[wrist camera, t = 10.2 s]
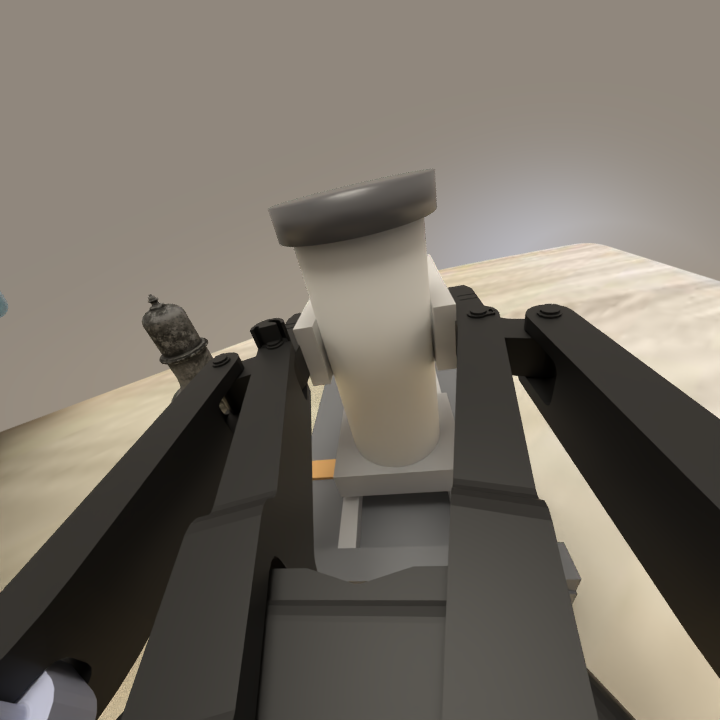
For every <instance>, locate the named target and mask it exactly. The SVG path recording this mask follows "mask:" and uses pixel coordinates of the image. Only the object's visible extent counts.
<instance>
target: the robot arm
mask: <svg viewBox="0 0 720 720" xmlns="http://www.w3.org/2000/svg"><path fill="white" fill-rule="evenodd" d="M427 264H428V277H429V291H430V305H431V318H432V332H433V345H434V359H435V363H436V366H437V370H438V371H440V370H448V369H456V368H457V373H456V403H455V432H454V462H453V486H452V488H451V502H450V526H449V552H448V566H413V567H410V568H407V569H404V570H401V571H398V572H395V573H392V574H389V575H385V576H382V577H379V578H376V579H373V580H370V581H367V582H364V583H360V584H354V583H350V582H347V581H344V580H341V579H338V578H335V577H332V576H329V575H326V574H323V573H320V572H318V571H317V567H316V563H315V557H314V527H313V480H312V434H311V391H310V389H309V386H308V383H307V382H308V379H309V376H310V378H311V380H312V383H313V386H317V385H325V384H331V381H332V376H333V371H332V368H331V365H330V362H329V359H328V355H327V352H326V349H325V346H324V343H323V339H322V336H321V333H320V330H319V327H318V323H317V320H316V317H315V314H314V311H313V307H312V304H311V301H310V299H309V300H308V302H307V304H306V306H305V308H304V310H303V312H302V313H298V314H294V315H293V316H292V317H291V318H289V319H288V321H287V322H286V324H285V323H284V320H283V319H280V318H273V319H268V320H265V321H262V322H260V323H258V324H256V325H255V326H254V327H252V328H251V330H250V332H251V334H252V336H253V338H254V341H255V343H256V345H257V347H258V352H257V355H256V357H253V358H250V359H247V360H244V361H241V359H240V358H239V356H238V354H237V353H225V354H224V353H223V354H220V355H218V356H216V357H215V358H213V359H212V360H210V361H209V362H208V363H207V364H206V365H205V366H204V367H203V368H202V369H201V370H200V371H199V373H198V374H197V375H196V376H195V377H194V378H193V379H192V380H191V381H190V383H189V384H188V385H187V386H186V387H185V388H184V389H183V390H182V391H181V393H180V394H179V395H178V396H177V397H176V398H175V399H174V400H173V401H172V403H171V404H170V405H169V406H168V407H167V408H166V409H165V410H164V411H163V413H162V414H161V415H160V416H159V417H158V418H157V419H156V420H155V421H154V423H153V424H152V425H151V426H150V427H149V428H148V429H147V430H146V431H145V433H144V434H143V435H142V436H141V437H140V438H139V439H138V440H137V441H136V443H135V444H134V445H133V446H132V447H131V448H130V449H129V450H128V451H127V453H126V454H125V455H124V456H123V457H122V458H121V459H120V460H119V461H118V463H117V464H116V465H115V466H114V467H113V468H112V469H111V470H110V472H109V473H108V474H107V475H106V476H105V477H104V478H103V479H102V480H101V482H100V483H99V484H98V485H97V486H96V487H95V488H94V489H93V490H92V492H91V493H90V494H89V495H88V496H87V497H86V498H85V499H84V500H83V502H82V503H81V504H80V505H79V506H78V507H77V508H76V509H75V510H74V512H73V513H72V514H71V515H70V516H69V517H68V518H67V519H66V520H65V522H64V523H63V524H62V525H61V526H60V527H59V528H58V529H57V530H56V532H55V533H54V534H53V535H52V536H51V537H50V538H49V539H48V540H47V542H46V543H45V544H44V545H43V546H42V547H41V548H40V549H39V550H38V552H37V553H36V554H35V555H34V556H33V557H32V558H31V559H30V560H29V562H28V563H27V564H26V565H25V566H24V567H23V568H22V569H21V570H20V572H19V573H18V574H17V575H16V576H15V577H14V578H13V579H12V580H11V582H10V583H9V584H8V585H7V586H6V587H5V588H4V589H3V590H2V592H1V593H0V720H98V718H99V717H100V715H101V714H102V712H103V711H104V709H105V708H106V707H107V705H108V704H109V702H110V701H111V699H112V698H113V696H114V695H115V693H116V692H117V691H118V689H119V687H120V686H121V684H122V682H123V681H124V679H125V678H126V676H127V674H128V673H129V671H130V669H131V668H132V666H133V665H134V663H135V661H136V660H137V658H138V656H139V655H140V653H141V651H142V649H143V647H144V646H145V644H146V642H147V640H148V638H149V640H148V642H147V645H146V648H145V651H144V654H143V657H142V660H141V663H140V666H139V669H138V672H137V674H136V677H135V680H134V683H133V686H132V689H131V692H130V695H129V698H128V701H127V703H126V706H125V709H124V711H123V713H122V714H121V715H120V716H119V717H118V718H117V719H116V720H636V719H635V718H634V717H633V716H632V715H631V714H630V713H629V712H628V711H627V710H626V709H625V708H624V707H623V706H622V705H621V703H620V702H619V701H618V700H617V699H616V698H615V697H614V696H613V695H612V694H611V693H610V692H609V691H608V690H607V689H606V688H605V687H604V686H603V684H602V683H601V682H600V681H599V680H598V679H597V678H596V677H595V676H594V675H593V674H592V673H591V672H590V671H589V670H588V669H587V668H586V664H585V660H584V655H583V651H582V647H581V643H580V638H579V634H578V630H577V625H576V621H575V617H574V613H573V608H572V604H571V600H570V595H569V591H568V587H567V583H566V578H565V574H564V570H563V565H562V561H561V557H560V552H559V548H558V544H557V540H556V535H555V531H554V527H553V522H552V519H551V515H550V512H549V509H548V506H547V504H546V503H545V501H544V500H541V499H539V498H538V496H537V492H536V489H535V484H534V479H533V474H532V469H531V464H530V460H529V455H528V450H527V445H526V440H525V435H524V430H523V426H522V421H521V416H520V411H519V406H518V401H517V397H516V392H515V387H514V382H513V377H512V375H514V376H518V378H519V381H520V382H521V384H522V385H523V387H524V388H525V390H526V391H527V393H528V394H529V396H530V397H531V399H532V400H533V402H534V403H535V405H536V406H537V408H538V410H539V411H540V413H541V414H542V416H543V417H544V419H545V420H546V422H547V423H548V425H549V426H550V428H551V429H552V431H553V432H554V434H555V435H556V437H557V438H558V440H559V441H560V443H561V444H562V446H563V447H564V449H565V450H566V452H567V453H568V455H569V456H570V458H571V459H572V461H573V462H574V464H575V465H576V467H577V468H578V470H579V471H580V473H581V474H582V476H583V477H584V479H585V480H586V482H587V483H588V485H589V486H590V488H591V489H592V491H593V492H594V494H595V495H596V497H597V498H598V500H599V501H600V503H601V504H602V506H603V507H604V509H605V510H606V512H607V513H608V515H609V516H610V518H611V519H612V521H613V522H614V524H615V525H616V527H617V528H618V530H619V531H620V533H621V534H622V536H623V537H624V539H625V540H626V542H627V543H628V545H629V546H630V548H631V549H632V551H633V552H634V554H635V555H636V557H637V558H638V560H639V561H640V563H641V564H642V566H643V567H644V569H645V570H646V572H647V573H648V575H649V576H650V578H651V579H652V581H653V582H654V584H655V585H656V587H657V588H658V590H659V591H660V593H661V594H662V596H663V597H664V599H665V600H666V602H667V603H668V605H669V607H670V608H671V610H672V611H673V613H674V614H675V616H676V617H677V619H678V620H679V622H680V623H681V625H682V626H683V628H684V629H685V631H686V632H687V634H688V635H689V636H690V638H691V639H692V641H693V642H694V643H695V645H696V646H697V648H698V649H699V650H700V652H701V653H702V655H703V656H704V657H705V659H706V660H707V662H708V663H709V664H710V666H711V667H712V669H713V670H714V671H715V673H716V674H717V675H718V677H719V678H720V419H719V418H718V417H716V416H715V415H713V414H712V413H711V412H709V411H708V410H707V409H705V408H704V407H703V406H701V405H700V404H699V403H697V402H696V401H695V400H693V399H692V398H690V397H689V396H688V395H686V394H685V393H684V392H682V391H681V390H680V389H678V388H677V387H676V386H674V385H673V384H672V383H670V382H669V381H667V380H666V379H665V378H663V377H662V376H661V375H659V374H658V373H657V372H655V371H654V370H653V369H651V368H650V367H649V366H647V365H646V364H644V363H643V362H642V361H640V360H639V359H638V358H636V357H635V356H634V355H632V354H631V353H630V352H628V351H627V350H626V349H624V348H623V347H621V346H620V345H619V344H617V343H616V342H615V341H613V340H612V339H611V338H609V337H608V336H607V335H605V334H604V333H603V332H601V331H600V330H598V329H597V328H596V327H594V326H593V325H592V324H590V323H589V322H588V321H586V320H585V319H584V318H582V317H581V316H580V315H578V314H577V313H575V312H574V311H573V310H571V309H569V308H567V307H564V306H560V305H557V304H553V305H551V304H545V305H538V306H534V307H531V308H530V309H528V310H527V311H526V314H525V319H506V318H500V314H499V312H498V310H497V309H495V308H493V307H488V306H484V305H483V304H482V302H481V301H480V299H479V298H478V297H477V295H476V294H475V292H474V291H473V290H472V288H470V287H467V286H465V285H461V286H455V287H449V288H447V286H446V284H445V282H444V280H443V279H442V277H441V275H440V273H439V271H438V269H437V267H436V265H435V264H434V261H433V260H432V258H431V256H430V255H427ZM7 310H8V304H7V301H6V299H5V298H4V296H3V295H2V293H1V292H0V318H1V317H3V316H4V315H5V314H6V312H7ZM221 400H223V402H224V404H225V405H226V407H227V411H226V412H225V413H223V412H222V411H221V409H220V408H219V405H220V402H221ZM149 636H150V637H149Z"/></svg>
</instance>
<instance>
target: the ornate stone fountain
mask: <svg viewBox="0 0 720 720" xmlns="http://www.w3.org/2000/svg"><path fill="white" fill-rule="evenodd" d="M148 299H149V301H148V302H149V303H151V304H152V307H150V310H149V311H148V312H146V313H145V315H144V316H143V319H142V324H143V327H144V328H145V330H146V331H147V333H148V334H149V336H150V337H151V339H152V340H153V342H154V343H155V344H156V346H157V348H158V349H159V350H160V352H161V354H162V355H161V357H160V362H161V363H162V364H168V366H169V367H170V369H171V370H172V372H173V373H174V375H175V376H176V377H177V379H178V381H179V384H180V387H181V388H180V389H179V390H178V391H177V392H176V393H175V395H174V397H173V399H172V401H173V400H174V399H175V398H176V397H177V396H178V395H179V394H180V393H181V391H182V390H183V389H184V388H185V387H186V386H187V385H188V384H189V383H190V381H191V380H192V379H193V378H194V377H195V376H196V375H197V374H198V373H199V371H200V370H201V369H202V368H203V367H204V366H205V365H206V364H207V363H208V362H209V361H210V360H212V359H213V357H212V356H211V354H210V352H209V350H208V349H207V347H206V346H207V344H208V340H207V339H205V338H200V337H199V335H198V333H197V331H196V330H195V329H194V326H193V325H192V323H191V321H190V320H189V318H188V316H187V314H186V312H185V311H184V309H182V307H179V306H178V305H175V304H163V303H159V302H158V298H156V297H155V296H152V295H151V294H150V295H149V297H148ZM219 408H220V409H221V411H222V412H223V413H225V412H226V411H227V407H226V405H225V404H224V402H223V400H221V402H220V405H219Z"/></svg>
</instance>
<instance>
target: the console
mask: <svg viewBox="0 0 720 720" xmlns="http://www.w3.org/2000/svg"><path fill="white" fill-rule="evenodd" d="M435 372H436V385H437V393H447V396H448V400H449V403H450V407H451V410H452V414H453V417H454V421H455V403H456V373H457V368H456V369H448V370H440V371H438V370H437V366H436V363H435ZM343 411H344V407H343V403H342V400H341V397H340V394H339V391H338V387H337V384H336V381H335V378H334V375H333V376H332V381H331V384H325V386H324V390H323V394H322V398H321V402H320V406H319V409H318V413H317V417H316V421H315V425H314V429H313V433H312V480H313V527H314V557H315V563H316V567H317V571H318V572H320V573H323V574H326V575H329V576H332V577H335V578H338V579H341V580H344V581H347V582H350V583H354V584H360V583H364V582H367V581H370V580H373V579H376V578H379V577H382V576H385V575H389V574H392V573H395V572H398V571H401V570H404V569H407V568H410V567H413V566H448V552H449V526H450V502H451V491H441V492H423V493H405V494H388V495H370V496H353V497H341V495H340V493H339V490H338V488H337V486H336V483H335V481H334V478H333V476H334V469H335V463H336V456H337V450H338V443H339V437H340V430H341V424H342V417H343ZM557 544H558V548H559V552H560V557H561V561H562V565H563V570H564V574H565V578H566V583H567V587H568V591H569V595H570V600H571V604H572V603H573V601H574V599H575V597H576V595H577V592H576V589H577V587H578V585H579V583H580V581H581V577H580V575H579V573H578V571H577V569H576V567H575V565H574V563H573V561H572V559H571V557H570V554H569V552H568V550H567V548H566V546H565V544H564V542H557Z"/></svg>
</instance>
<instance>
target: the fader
mask: <svg viewBox="0 0 720 720" xmlns="http://www.w3.org/2000/svg"><path fill="white" fill-rule="evenodd" d="M436 208H437V203H436V183H435V169H426V170H420V171H414V172H408V173H403V174H398V175H393V176H388V177H384V178H379V179H375V180H370V181H366V182H362V183H357V184H353V185H349V186H344V187H340V188H336V189H332V190H329V191H325V192H320V193H317V194H313V195H309V196H306V197H302V198H298V199H295V200H291V201H288V202H284V203H281V204H278V205H275V206H272V207H270V208H268V211H269V214H270V217H271V220H272V223H273V226H274V229H275V232H276V235H277V238H278V241H279V244H281V245H282V246H287V247H294V250H295V253H296V256H297V259H298V262H299V266H300V269H301V272H302V275H303V279H304V282H305V285H306V288H307V291H308V295H309V298H310V301H311V304H312V307H313V311H314V314H315V317H316V320H317V323H318V327H319V330H320V333H321V336H322V339H323V343H324V346H325V349H326V352H327V355H328V359H329V362H330V365H331V368H332V371H333V375H334V378H335V381H336V384H337V387H338V391H339V394H340V397H341V400H342V403H343V407H344V411H343V417H342V424H341V430H340V437H339V443H338V450H337V456H336V463H335V469H334V476H333V478H334V481H335V483H336V486H337V488H338V490H339V493H340V495H341V497H353V496H370V495H388V494H405V493H423V492H441V491H451V488H452V486H453V462H454V432H455V421H454V417H453V414H452V410H451V407H450V403H449V400H448V396H447V393H437V385H436V372H435V359H434V345H433V332H432V318H431V305H430V291H429V277H428V264H427V250H426V238H425V223H424V217H426V216H428V215H429V214H431V213H433V212H434V211H435V210H436Z"/></svg>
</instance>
